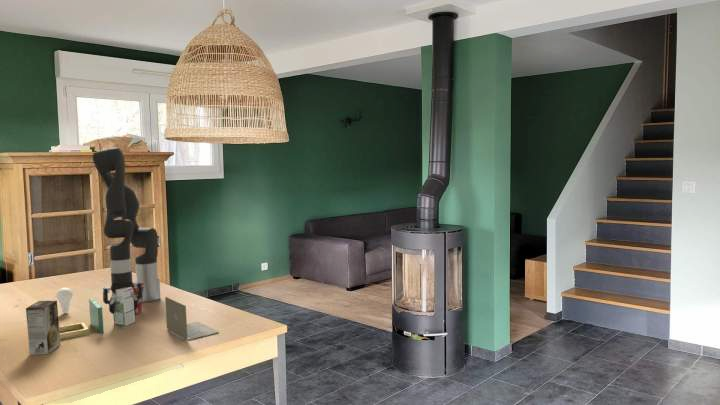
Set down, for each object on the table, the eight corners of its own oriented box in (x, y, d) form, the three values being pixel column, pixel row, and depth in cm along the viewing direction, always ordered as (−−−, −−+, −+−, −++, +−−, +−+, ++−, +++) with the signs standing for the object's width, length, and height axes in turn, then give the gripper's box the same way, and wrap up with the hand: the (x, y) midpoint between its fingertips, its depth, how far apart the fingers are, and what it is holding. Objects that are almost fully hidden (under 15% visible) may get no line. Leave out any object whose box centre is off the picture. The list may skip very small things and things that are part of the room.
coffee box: (41, 345, 191) (38, 300, 190) (61, 344, 191) (57, 299, 190) (28, 355, 182) (24, 307, 181) (48, 354, 182) (45, 307, 181)
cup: (150, 311, 232) (148, 283, 230) (134, 316, 224) (132, 288, 223) (134, 309, 235) (132, 281, 234) (118, 314, 228) (116, 286, 227)
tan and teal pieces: (94, 323, 216) (93, 298, 215) (103, 333, 203) (102, 307, 202) (51, 331, 207) (49, 305, 206) (58, 342, 194) (56, 314, 193)
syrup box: (135, 321, 217) (133, 285, 216) (124, 326, 211) (122, 289, 210) (124, 320, 219) (122, 285, 218) (113, 325, 213) (110, 288, 212)
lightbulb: (66, 315, 228) (64, 289, 227) (54, 315, 229) (52, 289, 228) (77, 311, 234) (75, 286, 233) (64, 311, 235) (62, 286, 234)
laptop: (219, 333, 201) (217, 299, 200) (186, 342, 192) (184, 305, 191) (197, 323, 214) (196, 290, 213) (166, 330, 206) (164, 296, 205)
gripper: (137, 266, 221) (140, 306, 222) (99, 271, 212) (102, 312, 213) (142, 269, 214) (145, 310, 216) (103, 274, 206) (106, 317, 207)
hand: (123, 311), depth 215 cm, fingers closed on syrup box, 7 cm apart
